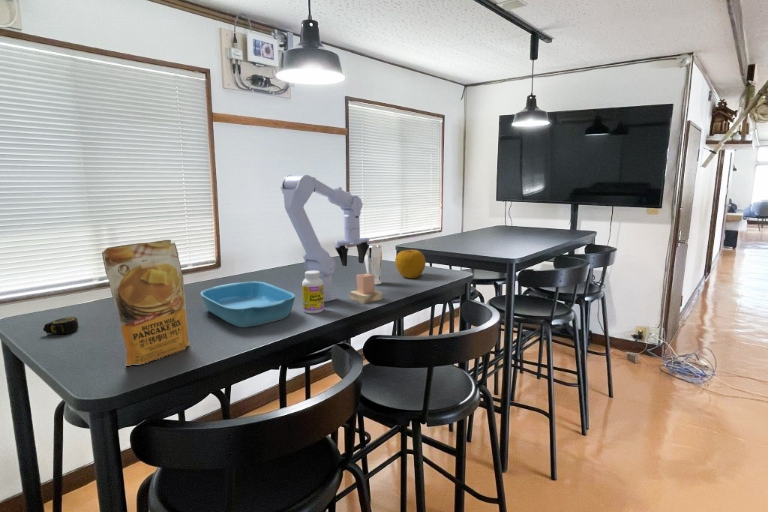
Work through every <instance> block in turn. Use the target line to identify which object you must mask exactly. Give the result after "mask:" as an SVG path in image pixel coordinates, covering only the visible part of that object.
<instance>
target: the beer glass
mask: <svg viewBox="0 0 768 512" xmlns="http://www.w3.org/2000/svg"><path fill="white" fill-rule="evenodd" d="M382 261H383V249H382V245H377V244H369V248H368V250H367V252H366V254H365V258H364V265H365V271H366V273H368V274H372V275H374V284H375V286H379V285H382V279H381V271H382V270H381V269H382V263H383V262H382Z"/></svg>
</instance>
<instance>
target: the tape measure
mask: <svg viewBox="0 0 768 512" xmlns="http://www.w3.org/2000/svg"><path fill="white" fill-rule="evenodd" d="M78 328H79V322H78V318H77V317H75V316H70V317H63V318H59V319H55V320H53V321H50V322H47V323H45V324H44V326H43V327H42V329H43V331H44V332H45V334H49V335H50V334H55V335H59V334H68V333H67V332H69V333H71V332H73V331H76V330H77V329H78Z"/></svg>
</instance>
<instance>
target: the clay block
mask: <svg viewBox="0 0 768 512" xmlns="http://www.w3.org/2000/svg"><path fill="white" fill-rule="evenodd" d="M375 286H376V285H375V284H374V275H372V274H368V273H367V272H366V273H359V274H356V290H357V292H359V293H362V294H367V293H373V292H375V290H376V289H375Z"/></svg>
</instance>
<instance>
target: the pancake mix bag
mask: <svg viewBox="0 0 768 512" xmlns="http://www.w3.org/2000/svg"><path fill="white" fill-rule="evenodd" d="M101 254H102V260H103V265H104V270H105V274H106V276H107V280H108V283H109V287H110V292H111V295H112V297H111V298H112V299H113V303H114V306H115V308H116V312H117V314H118V317H119V318H118V319H119V325H120V331H121V332H120V333H121V335H122V338H123V340H124V345H125V349H126V351H125V352H126V353H125V356H126V357H125V364H124V365H125V366H124V367H125V368H127V367H126V366H129V365H132V364H143V363H147V362H150V361H153V360H156V359H159V358H162V357H165V356H167V357H169V356H168V355H170V356H172V355H171V354H173V355H175V354H174V353H176V354H178V353H181V352H183V351H185V349H186V348H187V347H188V346H190V345H191V344H190V341H189V338H188V318H187V309H186V308H187V307H186V303H187V302H186V290H185V284H184V283H185V282H184V276H183V270H182V266H181V262H180V258H179V251H178V249H177V245H176V242H172V239H162V240H156V241H151V242H150V241H149V242H139V243H138V242H137V243H130V244H129V243H128V244H124V245H123V244H122V245H117V246H112V247H111V246H110V247H107V248H106V249H104V250H103V251H102V252H101ZM186 350H187V349H186ZM180 351H181V352H180ZM177 352H178V353H177ZM165 358H166V357H165ZM162 359H163V358H162ZM159 360H160V359H159ZM156 361H157V360H156ZM153 362H154V361H153ZM150 363H151V362H150ZM147 364H148V363H147Z"/></svg>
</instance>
